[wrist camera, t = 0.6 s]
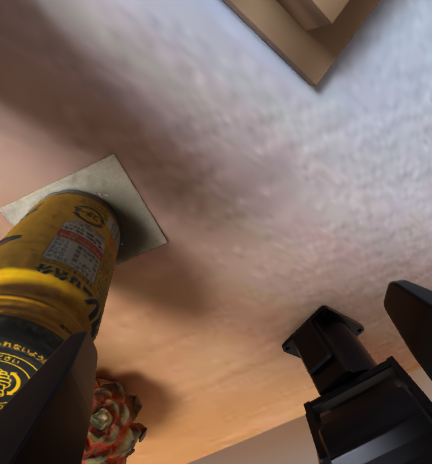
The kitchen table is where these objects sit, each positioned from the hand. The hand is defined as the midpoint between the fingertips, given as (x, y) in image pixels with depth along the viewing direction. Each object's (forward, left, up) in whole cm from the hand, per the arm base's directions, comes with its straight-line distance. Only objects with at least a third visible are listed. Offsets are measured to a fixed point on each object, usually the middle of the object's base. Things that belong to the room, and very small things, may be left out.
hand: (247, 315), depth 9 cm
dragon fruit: (-5, +24, -14) cm, 28 cm away
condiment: (+4, +7, -14) cm, 16 cm away
